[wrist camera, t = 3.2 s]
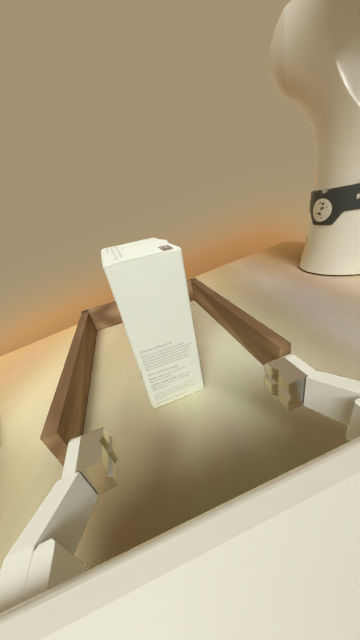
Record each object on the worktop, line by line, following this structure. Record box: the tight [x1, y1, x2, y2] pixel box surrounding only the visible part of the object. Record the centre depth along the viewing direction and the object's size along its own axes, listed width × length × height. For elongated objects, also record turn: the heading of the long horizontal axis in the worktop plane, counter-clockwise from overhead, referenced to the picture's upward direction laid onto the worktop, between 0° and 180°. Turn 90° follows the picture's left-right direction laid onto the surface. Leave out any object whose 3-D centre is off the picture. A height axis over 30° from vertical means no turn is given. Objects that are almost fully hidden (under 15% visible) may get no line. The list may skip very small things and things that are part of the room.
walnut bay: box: [40, 278, 291, 466], centre depth 30 cm, size 22×26×4 cm
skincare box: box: [101, 238, 204, 408], centre depth 21 cm, size 8×6×15 cm
